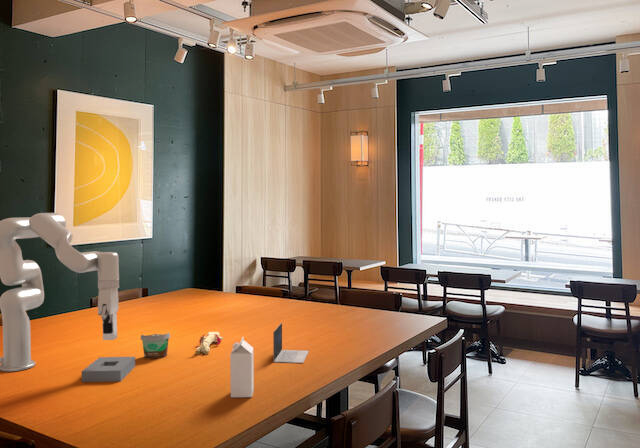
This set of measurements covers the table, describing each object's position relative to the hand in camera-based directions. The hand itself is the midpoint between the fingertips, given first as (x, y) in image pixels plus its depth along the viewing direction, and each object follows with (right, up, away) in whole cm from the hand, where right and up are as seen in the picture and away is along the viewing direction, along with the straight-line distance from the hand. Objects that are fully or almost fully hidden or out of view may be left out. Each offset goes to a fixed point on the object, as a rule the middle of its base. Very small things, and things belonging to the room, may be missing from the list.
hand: (109, 331), depth 201 cm
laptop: (+69, -16, +24) cm, 74 cm away
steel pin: (0, -3, 0) cm, 3 cm away
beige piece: (+30, -16, +39) cm, 52 cm away
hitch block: (0, -16, +1) cm, 16 cm away
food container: (+10, -16, +22) cm, 29 cm away
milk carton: (+54, -17, -21) cm, 61 cm away
